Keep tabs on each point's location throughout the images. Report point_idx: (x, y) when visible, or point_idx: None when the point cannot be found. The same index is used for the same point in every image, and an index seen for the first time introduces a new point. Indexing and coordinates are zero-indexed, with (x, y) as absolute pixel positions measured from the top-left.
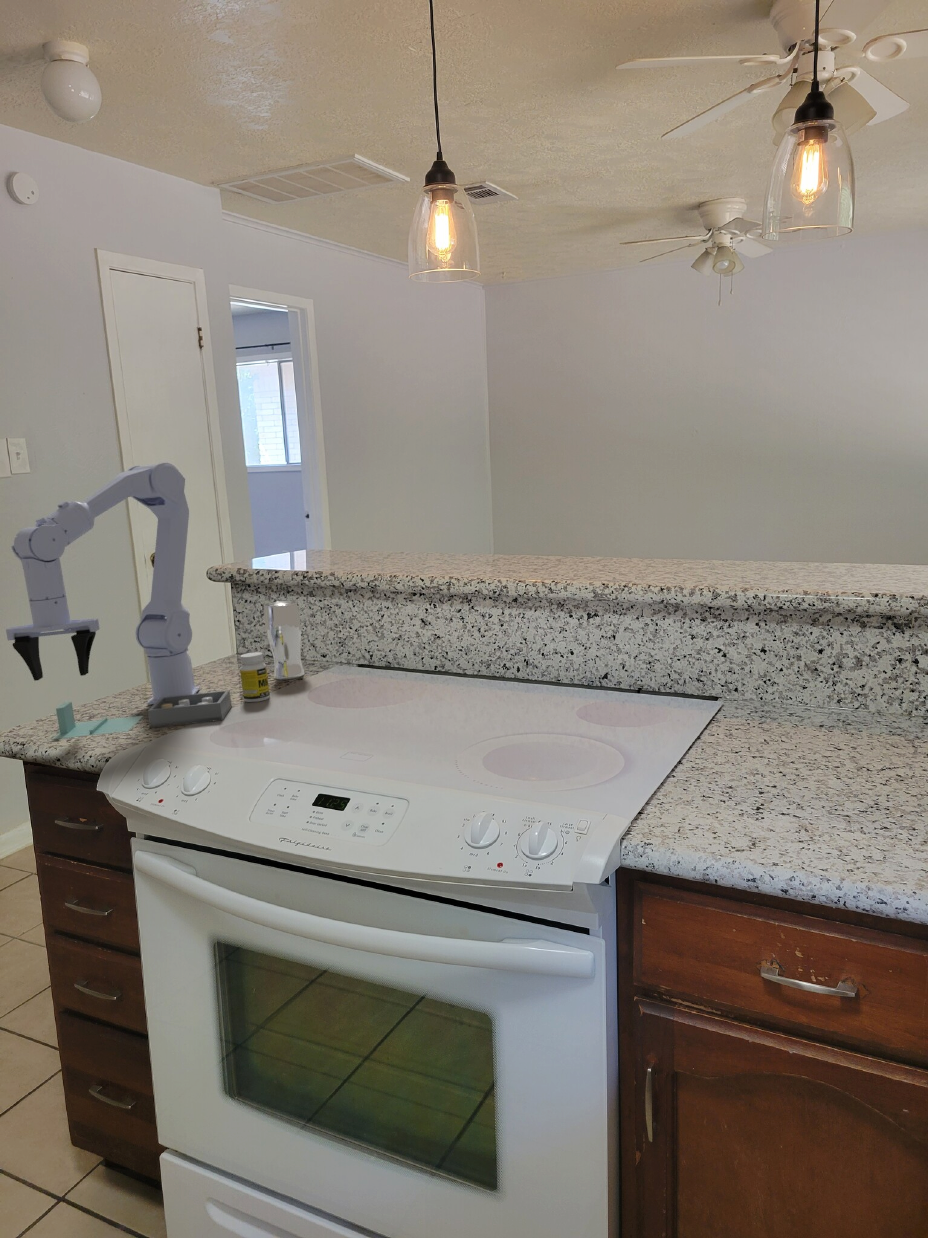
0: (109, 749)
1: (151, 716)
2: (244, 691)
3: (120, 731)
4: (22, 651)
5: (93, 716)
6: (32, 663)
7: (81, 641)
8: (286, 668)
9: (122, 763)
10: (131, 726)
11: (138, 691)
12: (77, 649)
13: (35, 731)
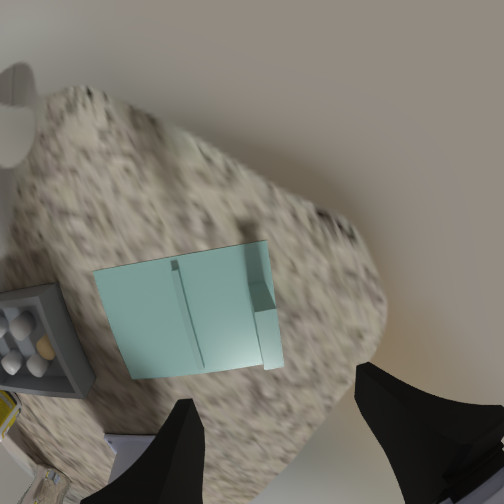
0: (69, 136)
1: (41, 292)
2: (1, 396)
3: (108, 271)
4: (458, 415)
5: (256, 398)
6: (395, 397)
7: (103, 500)
8: (40, 473)
9: (27, 65)
10: (106, 306)
11: (250, 489)
12: (153, 476)
13: (343, 314)
